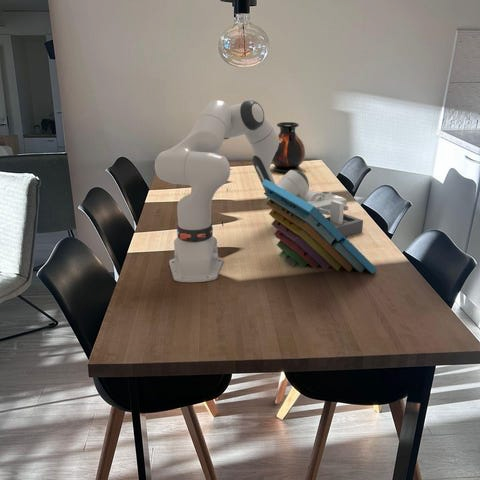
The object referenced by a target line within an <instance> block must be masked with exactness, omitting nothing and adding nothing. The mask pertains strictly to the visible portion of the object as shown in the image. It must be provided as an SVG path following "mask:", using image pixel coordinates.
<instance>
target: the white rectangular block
mask: <svg viewBox="0 0 480 480" xmlns="http://www.w3.org/2000/svg"><path fill="white" fill-rule="evenodd" d="M343 214H344V203H342V202H339V201H336V200H333V201H331V215H329V217H330V221H331V222H334V223H337V224H339V225H340V224H343Z"/></svg>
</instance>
